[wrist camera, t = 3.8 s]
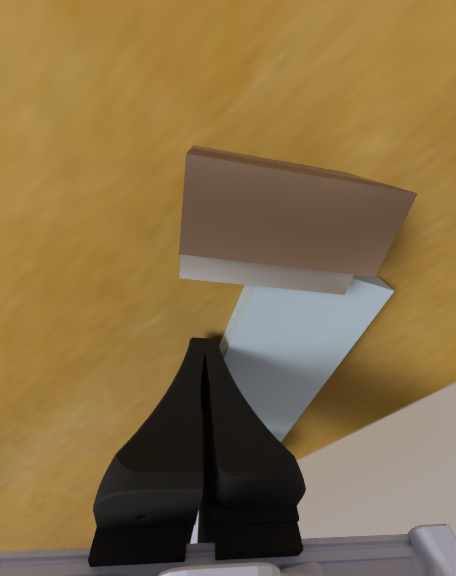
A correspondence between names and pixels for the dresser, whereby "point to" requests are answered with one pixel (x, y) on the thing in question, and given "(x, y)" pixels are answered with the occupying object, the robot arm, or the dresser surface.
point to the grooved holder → (284, 223)
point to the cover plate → (294, 344)
